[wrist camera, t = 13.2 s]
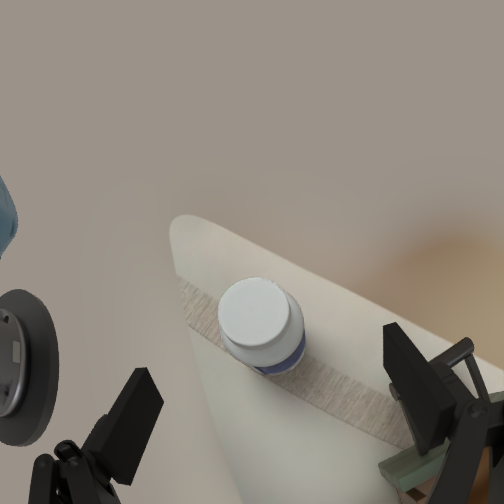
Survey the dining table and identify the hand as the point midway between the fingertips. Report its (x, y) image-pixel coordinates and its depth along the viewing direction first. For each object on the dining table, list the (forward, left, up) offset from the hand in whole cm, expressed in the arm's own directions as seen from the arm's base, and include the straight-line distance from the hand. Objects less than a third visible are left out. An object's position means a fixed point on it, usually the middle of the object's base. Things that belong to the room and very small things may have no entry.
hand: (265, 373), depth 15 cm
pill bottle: (+1, +3, -9) cm, 10 cm away
